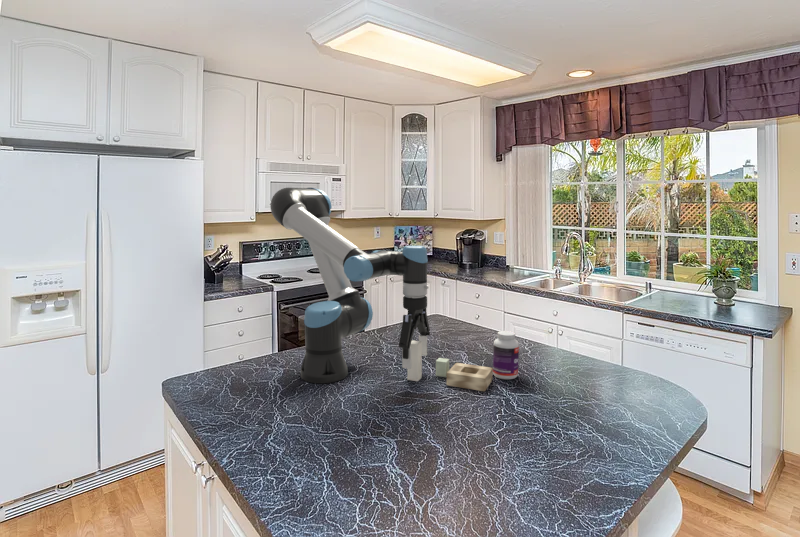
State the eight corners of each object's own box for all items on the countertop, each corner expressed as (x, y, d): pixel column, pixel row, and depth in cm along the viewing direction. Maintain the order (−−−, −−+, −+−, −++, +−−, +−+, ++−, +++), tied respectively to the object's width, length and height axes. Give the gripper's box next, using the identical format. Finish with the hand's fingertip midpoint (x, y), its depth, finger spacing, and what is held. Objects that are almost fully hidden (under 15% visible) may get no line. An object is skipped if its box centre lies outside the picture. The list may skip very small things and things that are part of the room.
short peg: (435, 375, 156) (435, 361, 155) (439, 372, 159) (439, 357, 159) (445, 377, 155) (446, 362, 154) (449, 373, 158) (449, 359, 157)
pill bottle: (518, 381, 151) (520, 337, 149) (492, 379, 153) (493, 335, 151) (517, 372, 159) (519, 330, 157) (492, 370, 161) (494, 328, 158)
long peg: (407, 379, 153) (407, 343, 151) (411, 376, 156) (411, 340, 154) (417, 381, 151) (417, 344, 149) (421, 377, 154) (421, 341, 153)
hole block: (446, 385, 148) (446, 372, 148) (456, 374, 157) (456, 362, 157) (484, 391, 143) (485, 378, 143) (492, 379, 153) (492, 367, 152)
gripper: (410, 304, 137) (411, 376, 140) (439, 289, 159) (439, 351, 162) (387, 302, 140) (387, 372, 143) (418, 287, 162) (418, 348, 165)
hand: (415, 361), depth 153 cm, fingers open, 13 cm apart
